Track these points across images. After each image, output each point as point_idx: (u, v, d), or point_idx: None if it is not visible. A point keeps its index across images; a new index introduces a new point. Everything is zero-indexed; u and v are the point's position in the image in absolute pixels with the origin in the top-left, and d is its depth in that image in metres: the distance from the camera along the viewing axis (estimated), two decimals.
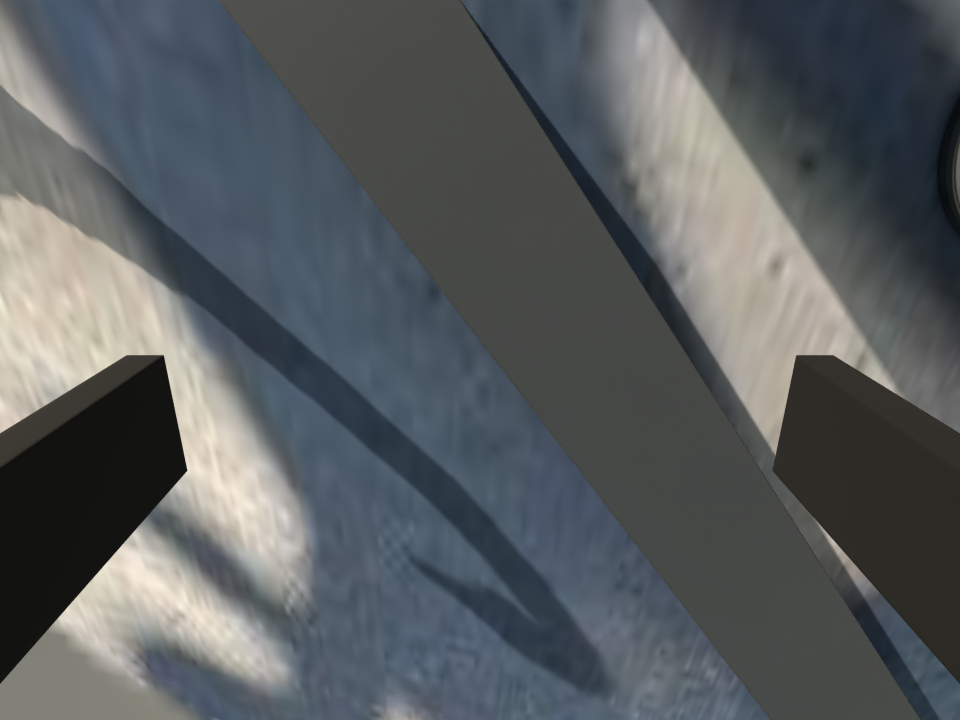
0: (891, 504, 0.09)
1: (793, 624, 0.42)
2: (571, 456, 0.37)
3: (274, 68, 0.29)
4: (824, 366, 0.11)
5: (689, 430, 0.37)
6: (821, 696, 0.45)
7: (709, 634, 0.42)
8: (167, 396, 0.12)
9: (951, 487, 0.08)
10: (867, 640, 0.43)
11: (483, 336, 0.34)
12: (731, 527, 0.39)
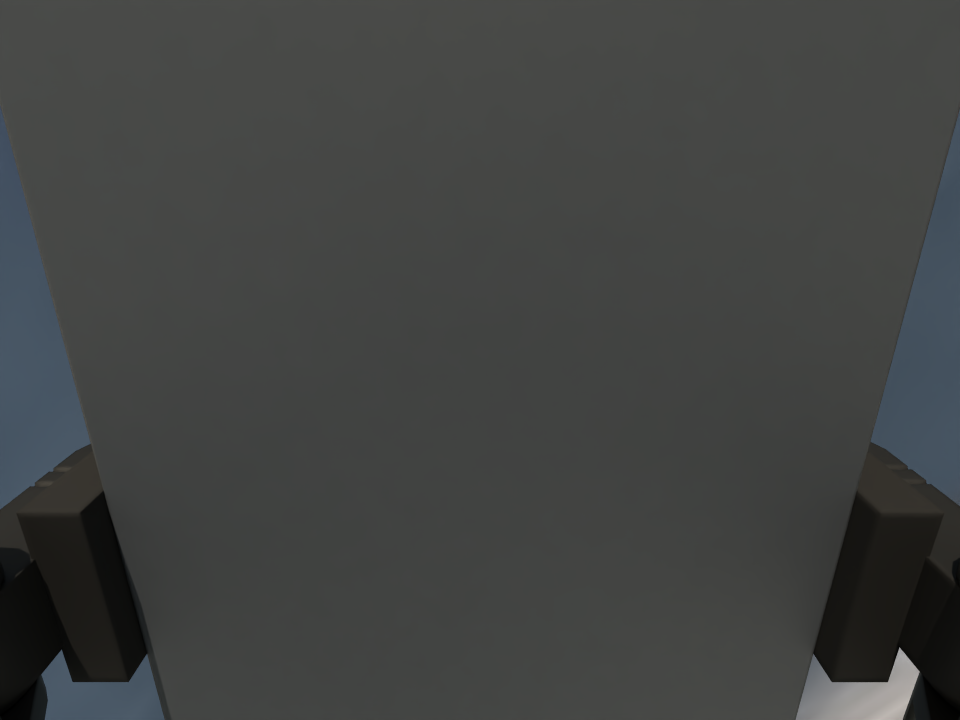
0: None
1: None
2: None
3: (106, 467, 0.07)
4: None
5: None
6: None
7: None
8: None
9: None
10: None
11: None
12: None
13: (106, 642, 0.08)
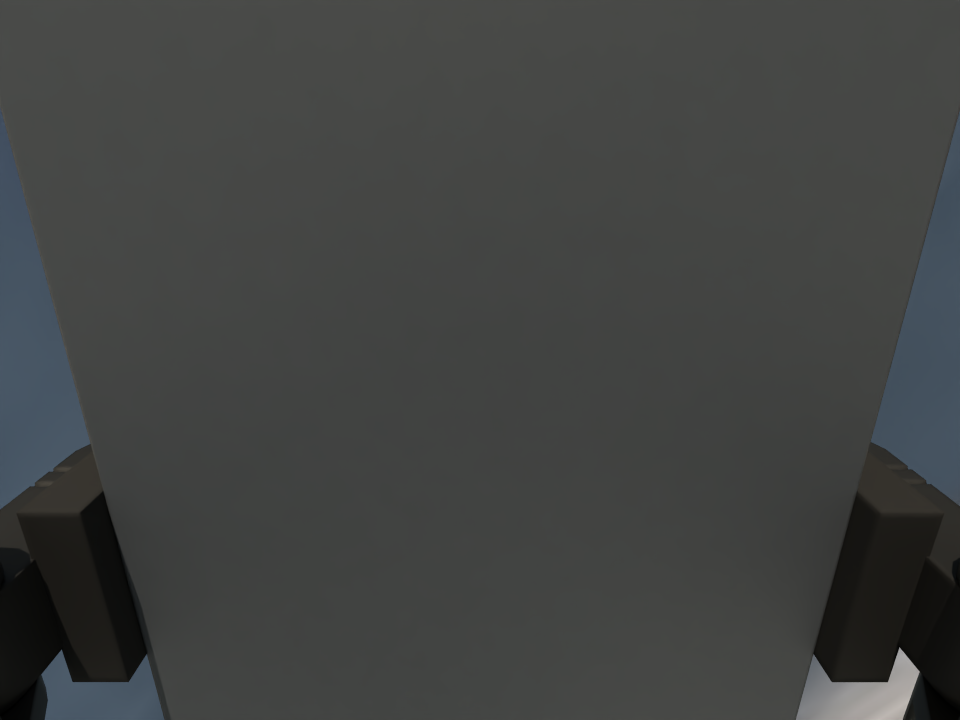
0: None
1: None
2: None
3: (106, 467, 0.07)
4: None
5: None
6: None
7: None
8: None
9: None
10: None
11: None
12: None
13: (106, 642, 0.08)
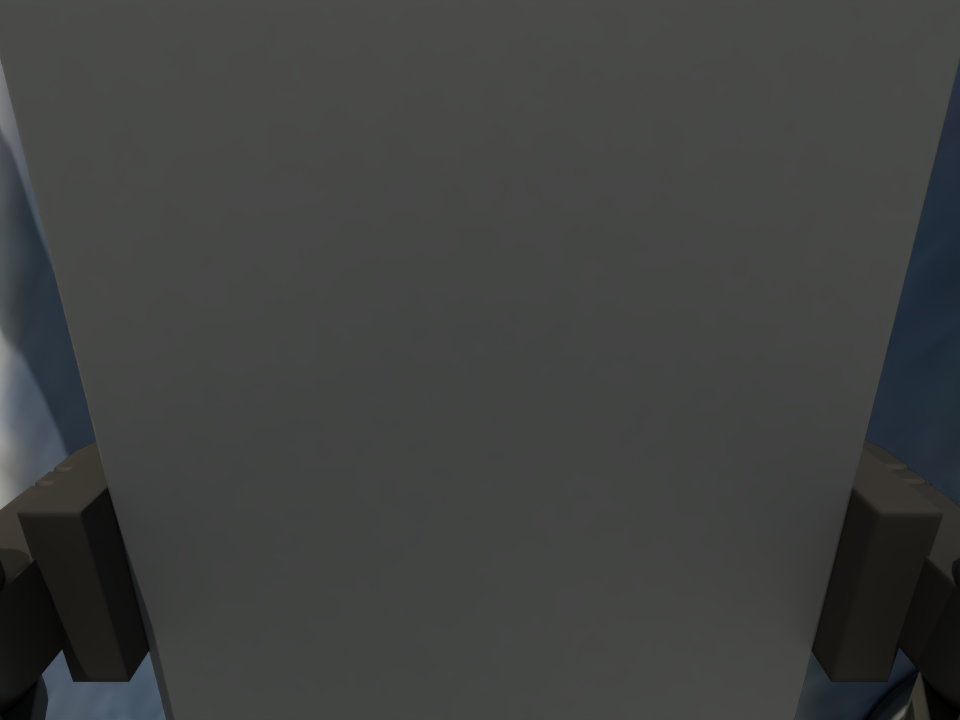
0: None
1: None
2: None
3: (112, 463, 0.07)
4: None
5: None
6: None
7: None
8: None
9: None
10: None
11: None
12: None
13: (107, 642, 0.08)
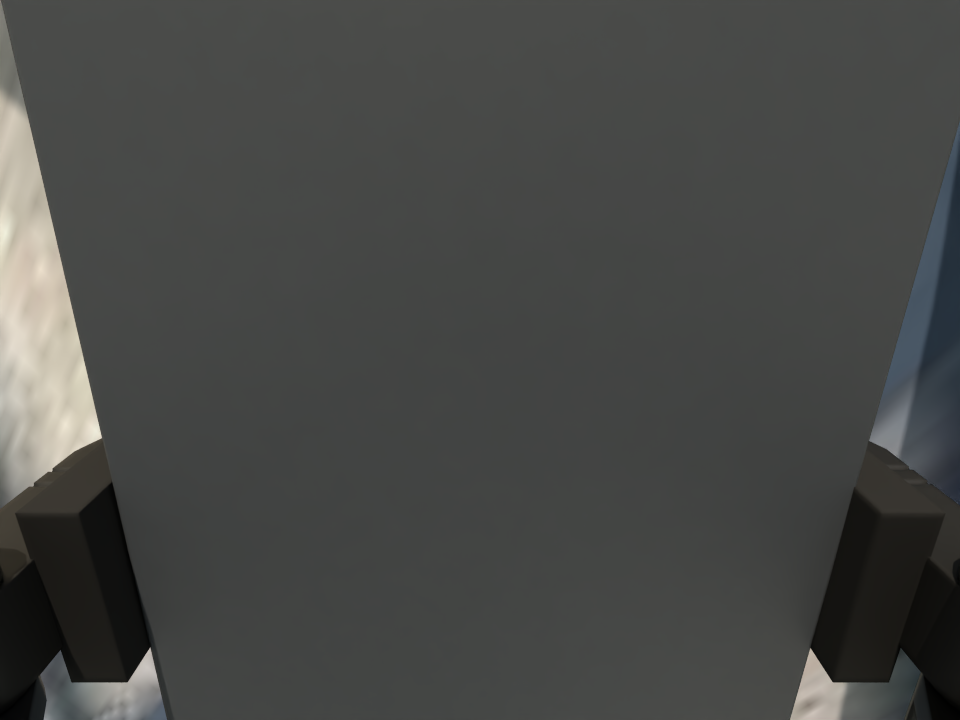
0: None
1: None
2: None
3: (117, 462, 0.07)
4: None
5: None
6: None
7: None
8: None
9: None
10: None
11: None
12: None
13: (105, 643, 0.08)
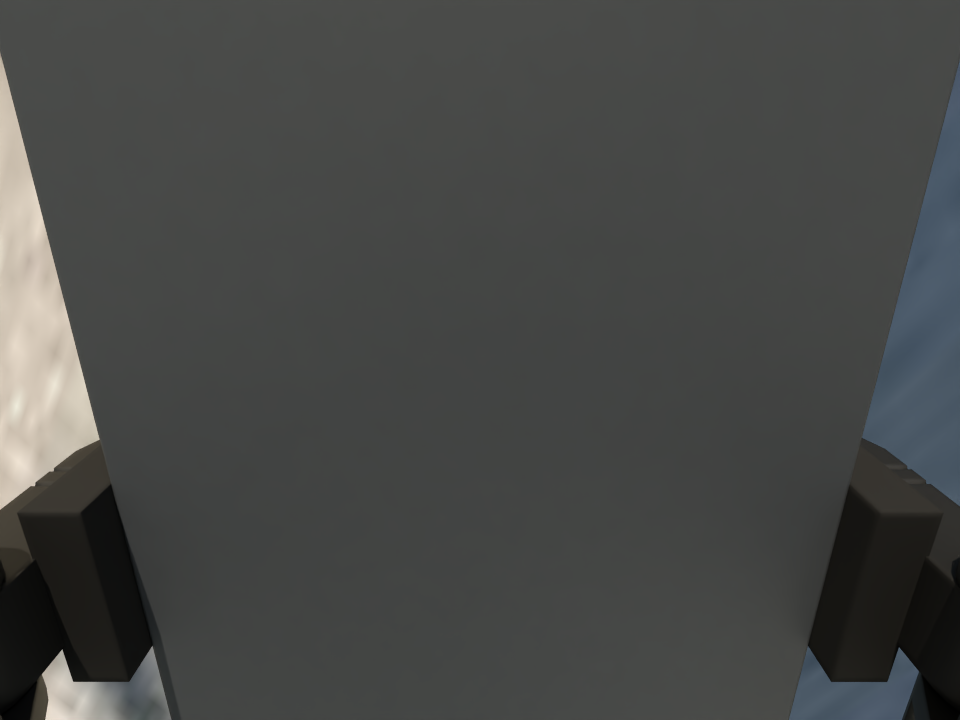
0: None
1: None
2: None
3: (116, 466, 0.07)
4: None
5: None
6: None
7: None
8: None
9: None
10: None
11: None
12: None
13: (107, 642, 0.08)
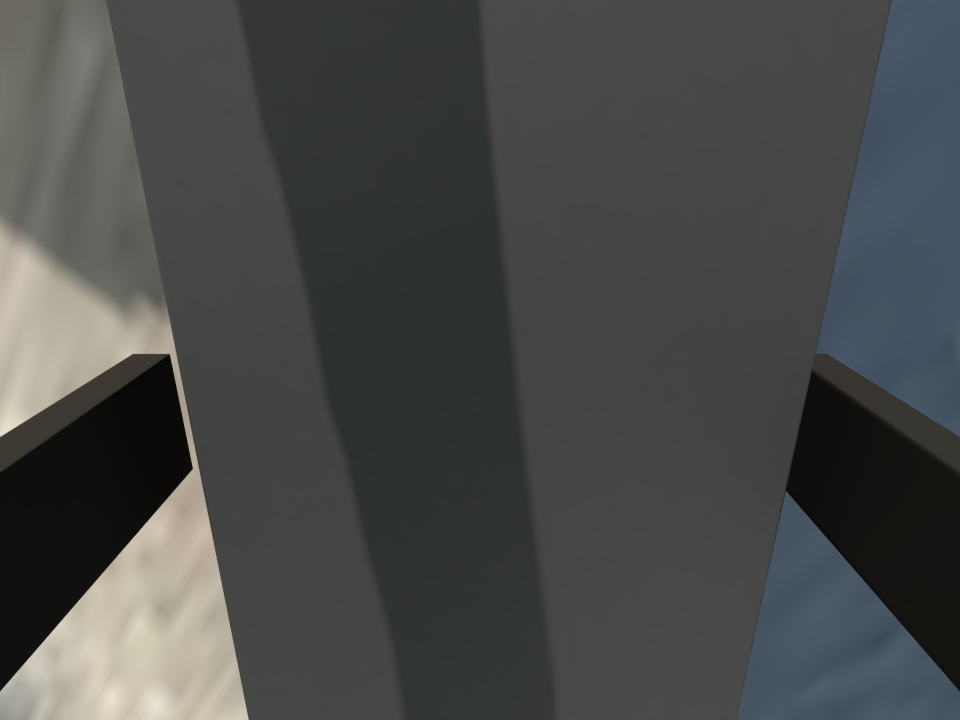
0: (883, 501, 0.09)
1: None
2: None
3: (194, 404, 0.09)
4: (818, 365, 0.11)
5: None
6: None
7: None
8: (174, 395, 0.12)
9: (941, 484, 0.08)
10: None
11: None
12: None
13: None
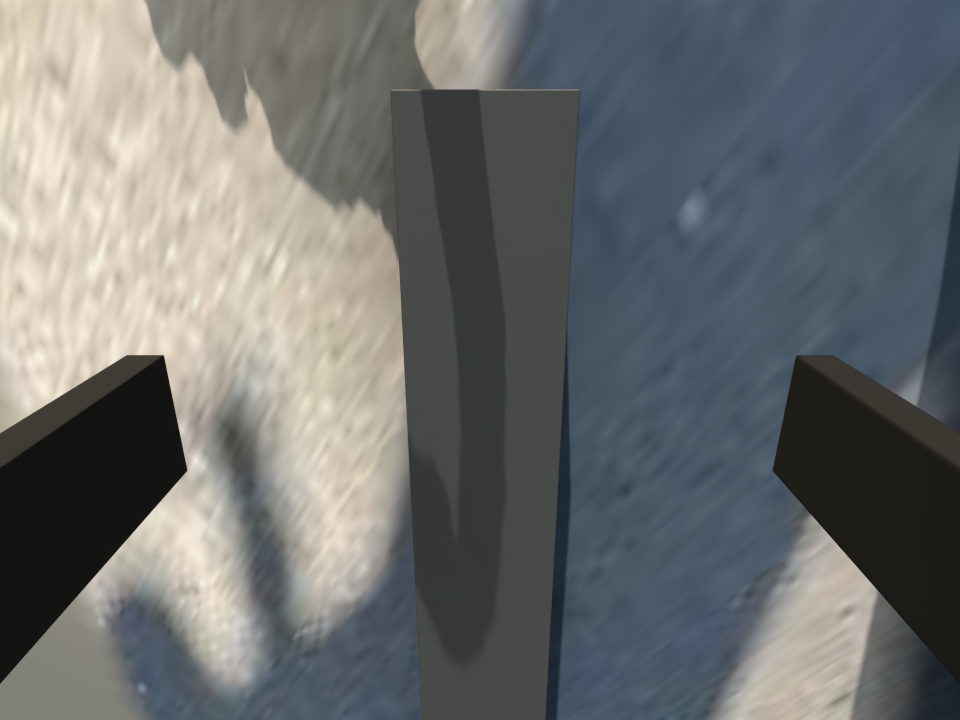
0: (891, 504, 0.09)
1: None
2: (418, 612, 0.41)
3: (399, 212, 0.31)
4: (824, 366, 0.11)
5: (517, 642, 0.42)
6: None
7: None
8: (168, 396, 0.12)
9: (951, 487, 0.08)
10: None
11: (415, 493, 0.38)
12: None
13: None
